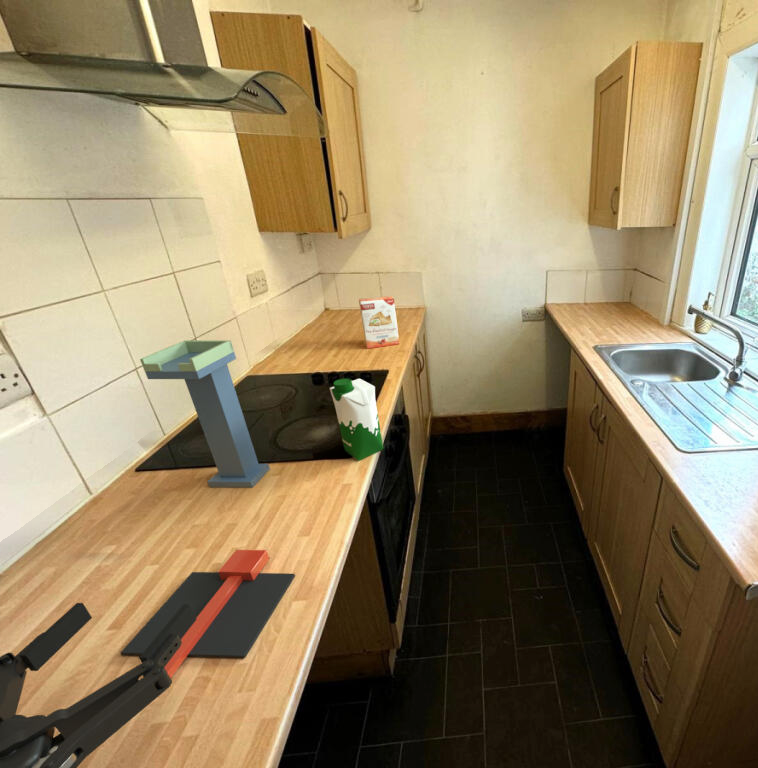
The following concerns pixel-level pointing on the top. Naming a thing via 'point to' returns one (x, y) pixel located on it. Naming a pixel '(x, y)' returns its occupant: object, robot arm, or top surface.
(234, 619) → the mat
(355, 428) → the milk carton
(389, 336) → the cracker box
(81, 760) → the robot arm
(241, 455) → the stand
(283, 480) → the top surface
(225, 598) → the red toy mallet
